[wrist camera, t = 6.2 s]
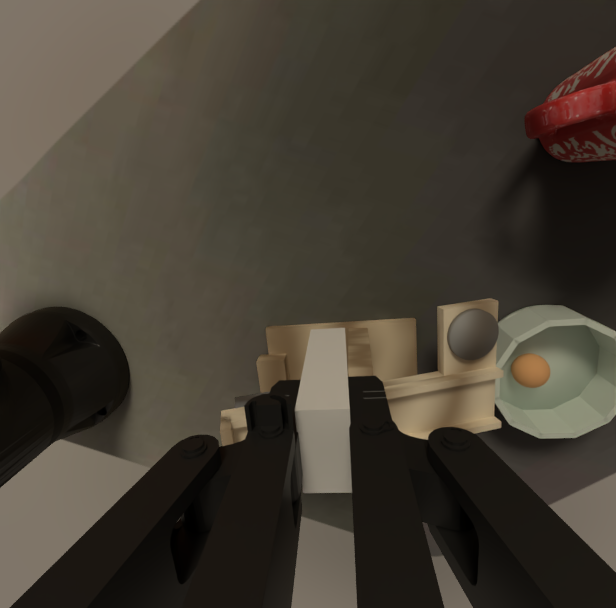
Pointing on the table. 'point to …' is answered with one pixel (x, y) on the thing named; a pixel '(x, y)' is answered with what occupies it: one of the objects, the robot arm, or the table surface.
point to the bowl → (557, 372)
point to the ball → (530, 370)
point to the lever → (433, 380)
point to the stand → (359, 348)
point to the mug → (579, 115)
